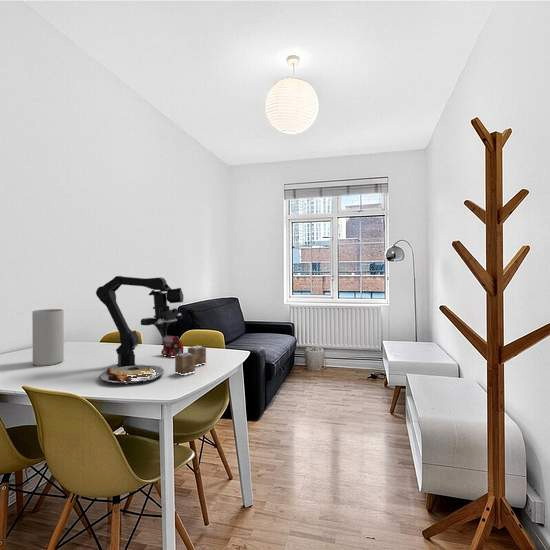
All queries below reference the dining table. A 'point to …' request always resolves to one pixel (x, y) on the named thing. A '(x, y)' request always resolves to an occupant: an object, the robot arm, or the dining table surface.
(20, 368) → the dining table surface
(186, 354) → the key
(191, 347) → the key
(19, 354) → the dining table surface
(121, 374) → the food plate
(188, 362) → the key post
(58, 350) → the cylinder vase
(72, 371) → the dining table surface
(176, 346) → the toy fire truck
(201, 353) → the key post
